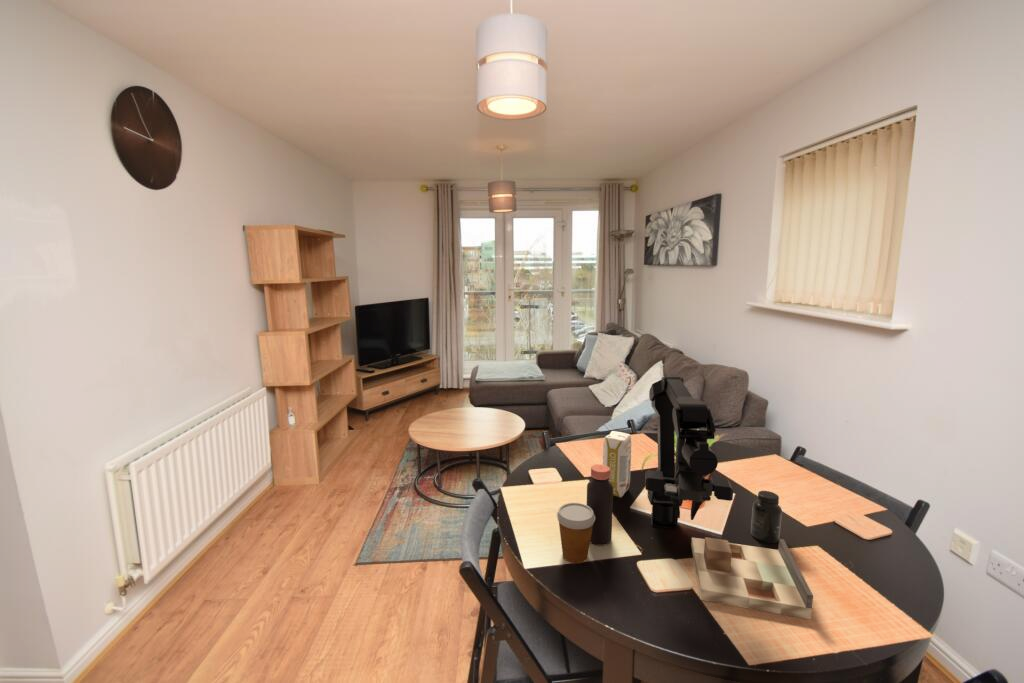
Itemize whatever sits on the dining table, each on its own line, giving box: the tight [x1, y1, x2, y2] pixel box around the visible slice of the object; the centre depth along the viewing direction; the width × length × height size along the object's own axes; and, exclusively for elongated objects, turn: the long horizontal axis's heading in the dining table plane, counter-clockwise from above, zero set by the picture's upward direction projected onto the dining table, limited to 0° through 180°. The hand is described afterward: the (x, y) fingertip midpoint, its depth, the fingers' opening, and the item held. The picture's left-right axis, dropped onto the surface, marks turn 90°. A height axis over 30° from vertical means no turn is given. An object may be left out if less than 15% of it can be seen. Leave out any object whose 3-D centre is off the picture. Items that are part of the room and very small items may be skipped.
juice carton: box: [602, 430, 632, 498], centre depth 145 cm, size 8×9×19 cm
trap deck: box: [690, 537, 814, 620], centre depth 104 cm, size 21×20×6 cm
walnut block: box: [704, 536, 732, 573], centre depth 106 cm, size 5×5×5 cm
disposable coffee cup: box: [556, 502, 595, 564], centre depth 113 cm, size 10×10×12 cm
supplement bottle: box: [750, 490, 783, 544], centre depth 120 cm, size 7×7×12 cm
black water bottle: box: [586, 463, 614, 546], centre depth 119 cm, size 7×7×20 cm
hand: (685, 518), depth 106 cm, fingers open, 3 cm apart
